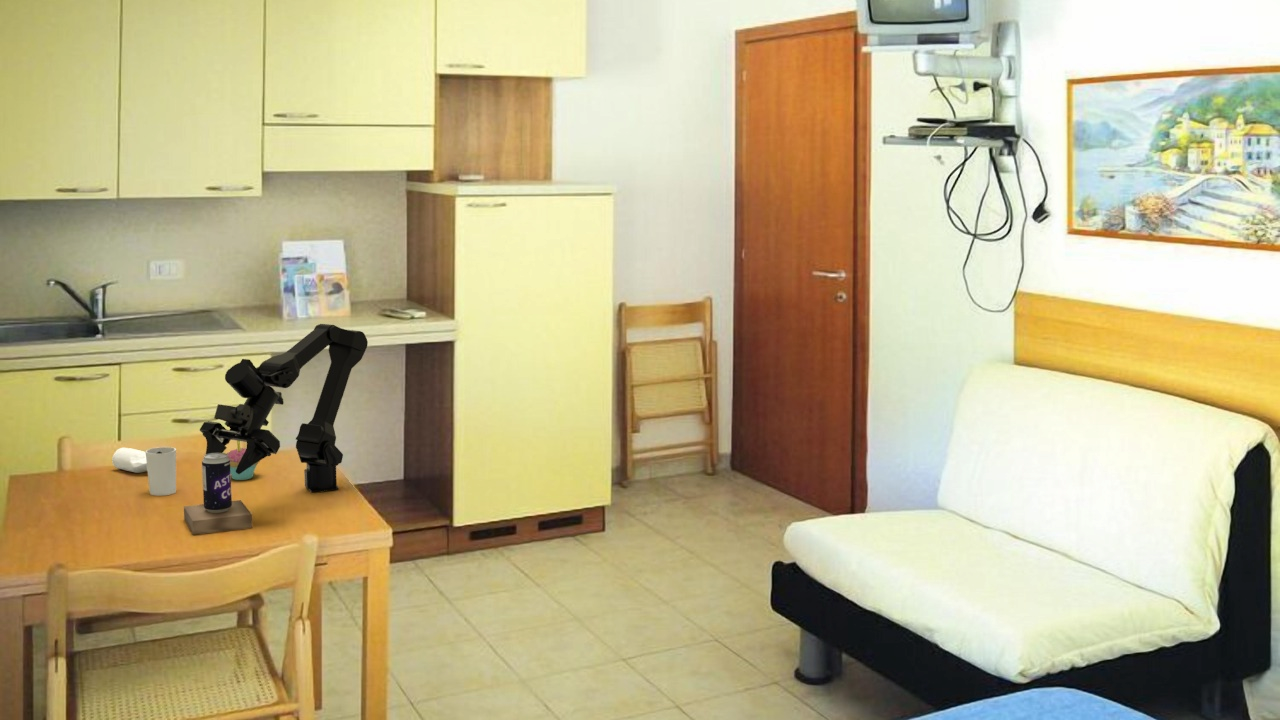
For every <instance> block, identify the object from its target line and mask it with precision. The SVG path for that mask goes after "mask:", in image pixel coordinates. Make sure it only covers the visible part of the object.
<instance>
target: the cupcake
mask: <svg viewBox="0 0 1280 720" xmlns="http://www.w3.org/2000/svg"><path fill="white" fill-rule="evenodd" d="M236 447H237V448H236V449H232V450H230V451H229V452H227V453H226V454H228V458H229V460H230V473H231V479H233V480H236V481H245V480H250V479H252V478H253V477H254V473H255V469H256V468H257V466H258V464H259V463H260V462H261V460H260V461H258V462H257V463H255V464H254V465H252V466H251V467H249V468H248V469H246V470H245V471H243V472H242V473H241V474H237V473H236V469H237V466H238V464H239V462H240V460H241V458H242V456H243V454H244V453H245V451H246V448H244V447H242V448H241V441H237V440H236Z"/></svg>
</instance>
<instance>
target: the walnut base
mask: <svg viewBox="0 0 1280 720" xmlns="http://www.w3.org/2000/svg"><path fill="white" fill-rule="evenodd" d="M183 518H184V519H183V521H184V522H185V523H186V526H188V528H189V530H190V531H191V534H192V536H196V535H198V536H199V535H203V534H204V535H205V534H212V533H213V534H215V533H221V532H223V533H224V532H229V531H237V530H239V531H240V530H246V529H253V514H252V513H251V511H250V510H249V508H248V507H247V506H246V505H245V504H244V502H243V501H242V500H232V506H231V507H230V508H229V509H228V510H227V511H225V512H220V513H211V512H208V510H207V509H205V508H204V503H203V504H195V505H185V506H183Z"/></svg>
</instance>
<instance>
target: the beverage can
mask: <svg viewBox="0 0 1280 720" xmlns="http://www.w3.org/2000/svg"><path fill="white" fill-rule="evenodd" d="M201 470H202V472H201V473H202V492H203V493H202V494H203V504H204V508H205V509H207V510H208V512H211V513H220V512H225V511H227V510H228V509H229V508H230V507H231V506H232V501H233V500H232V498H233V497H232V476H231V473H230V460H229V458H228V454H227V453H225V452H223V453H210V454H206V453H205V454H204V455H203V459H202V461H201Z"/></svg>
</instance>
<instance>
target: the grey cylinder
mask: <svg viewBox="0 0 1280 720" xmlns="http://www.w3.org/2000/svg"><path fill="white" fill-rule="evenodd" d="M145 452H146V461H147V471H146V472H147V477H148V478H147V479H148V488H149V489H148V491H149V494H150V495H151V496H159V497H160V496H168V495H174V494H175V493H177V448H176V447H171V446H159V447H151V448H149V449H146V450H145Z"/></svg>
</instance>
